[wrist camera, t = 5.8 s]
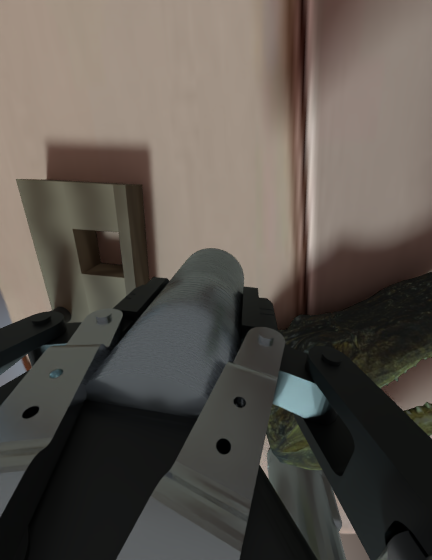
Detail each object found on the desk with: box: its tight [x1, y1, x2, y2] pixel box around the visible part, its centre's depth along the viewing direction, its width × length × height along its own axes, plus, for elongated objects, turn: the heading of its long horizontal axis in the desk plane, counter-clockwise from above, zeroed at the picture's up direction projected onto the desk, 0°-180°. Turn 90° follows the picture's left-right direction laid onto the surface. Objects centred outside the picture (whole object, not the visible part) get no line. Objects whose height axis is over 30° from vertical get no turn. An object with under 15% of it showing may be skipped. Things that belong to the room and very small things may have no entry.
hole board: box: [0, 179, 149, 375], centre depth 24 cm, size 12×18×14 cm, turn 177°
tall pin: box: [85, 248, 244, 418], centre depth 10 cm, size 4×4×10 cm
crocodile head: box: [266, 272, 432, 470], centre depth 25 cm, size 27×17×15 cm
